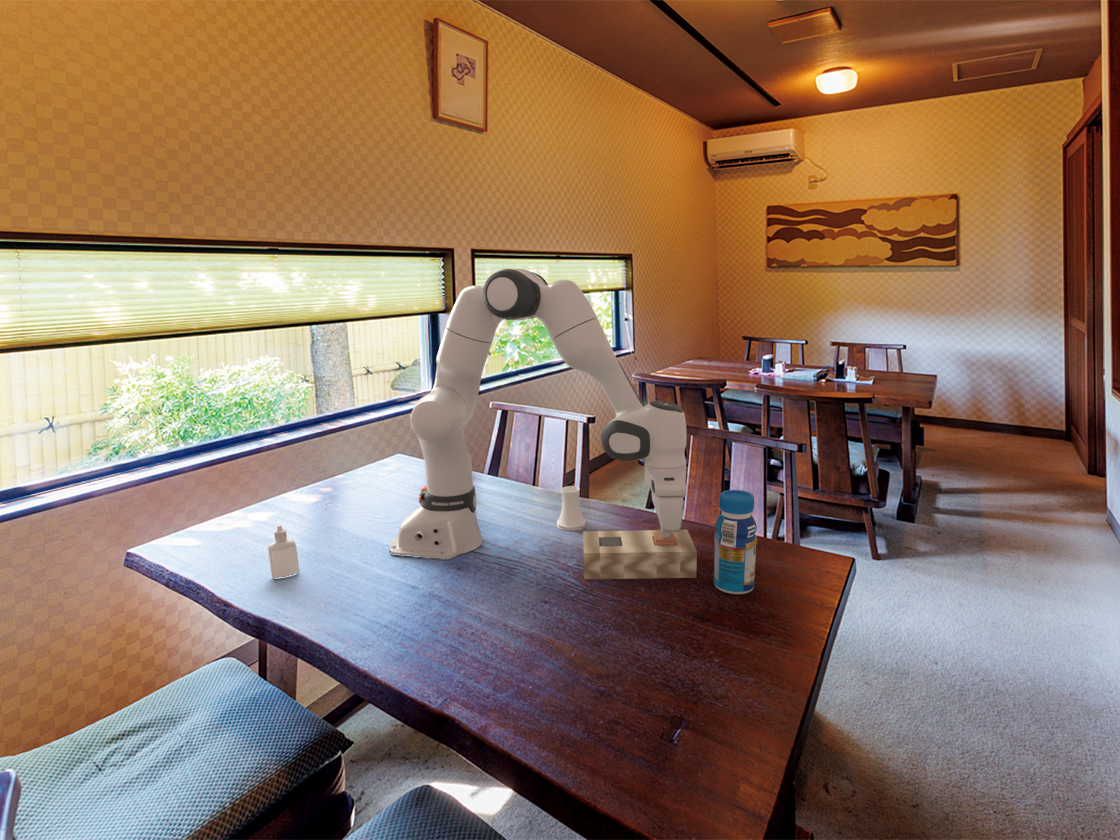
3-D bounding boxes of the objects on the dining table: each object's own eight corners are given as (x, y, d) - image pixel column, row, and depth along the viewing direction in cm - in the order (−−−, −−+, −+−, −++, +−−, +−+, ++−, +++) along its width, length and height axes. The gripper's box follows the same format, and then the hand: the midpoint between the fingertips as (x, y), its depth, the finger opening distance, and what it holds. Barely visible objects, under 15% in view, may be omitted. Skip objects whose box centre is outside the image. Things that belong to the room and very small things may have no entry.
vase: (558, 519, 170) (557, 484, 168) (586, 520, 169) (586, 484, 167) (555, 530, 163) (553, 493, 161) (584, 531, 162) (583, 494, 160)
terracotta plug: (655, 563, 139) (655, 539, 138) (653, 554, 143) (653, 531, 142) (675, 562, 139) (676, 539, 138) (672, 554, 143) (673, 531, 142)
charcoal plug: (601, 569, 140) (600, 545, 138) (600, 560, 144) (600, 537, 143) (621, 568, 139) (621, 545, 138) (619, 560, 144) (619, 537, 142)
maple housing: (584, 579, 136) (583, 553, 135) (583, 555, 148) (583, 531, 146) (696, 577, 135) (696, 551, 134) (686, 553, 147) (687, 529, 146)
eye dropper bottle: (295, 579, 140) (289, 528, 138) (269, 580, 140) (262, 530, 137) (301, 570, 144) (295, 521, 142) (276, 572, 144) (269, 522, 141)
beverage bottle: (705, 579, 134) (707, 490, 130) (742, 574, 136) (745, 486, 132) (724, 598, 126) (727, 503, 122) (763, 592, 128) (767, 499, 124)
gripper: (645, 462, 147) (645, 518, 150) (656, 491, 127) (656, 555, 130) (672, 461, 147) (672, 517, 150) (688, 490, 127) (687, 554, 130)
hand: (665, 535), depth 140 cm, fingers closed, pressing on terracotta plug
